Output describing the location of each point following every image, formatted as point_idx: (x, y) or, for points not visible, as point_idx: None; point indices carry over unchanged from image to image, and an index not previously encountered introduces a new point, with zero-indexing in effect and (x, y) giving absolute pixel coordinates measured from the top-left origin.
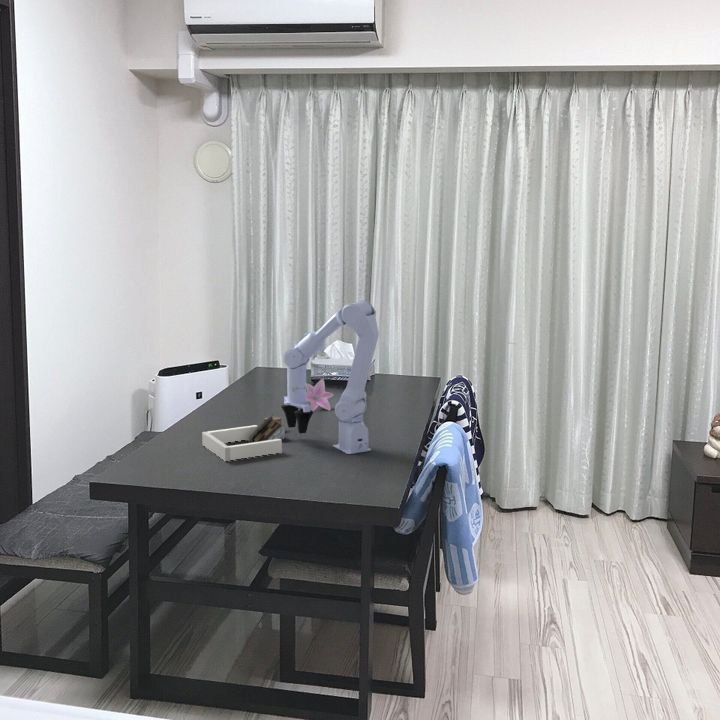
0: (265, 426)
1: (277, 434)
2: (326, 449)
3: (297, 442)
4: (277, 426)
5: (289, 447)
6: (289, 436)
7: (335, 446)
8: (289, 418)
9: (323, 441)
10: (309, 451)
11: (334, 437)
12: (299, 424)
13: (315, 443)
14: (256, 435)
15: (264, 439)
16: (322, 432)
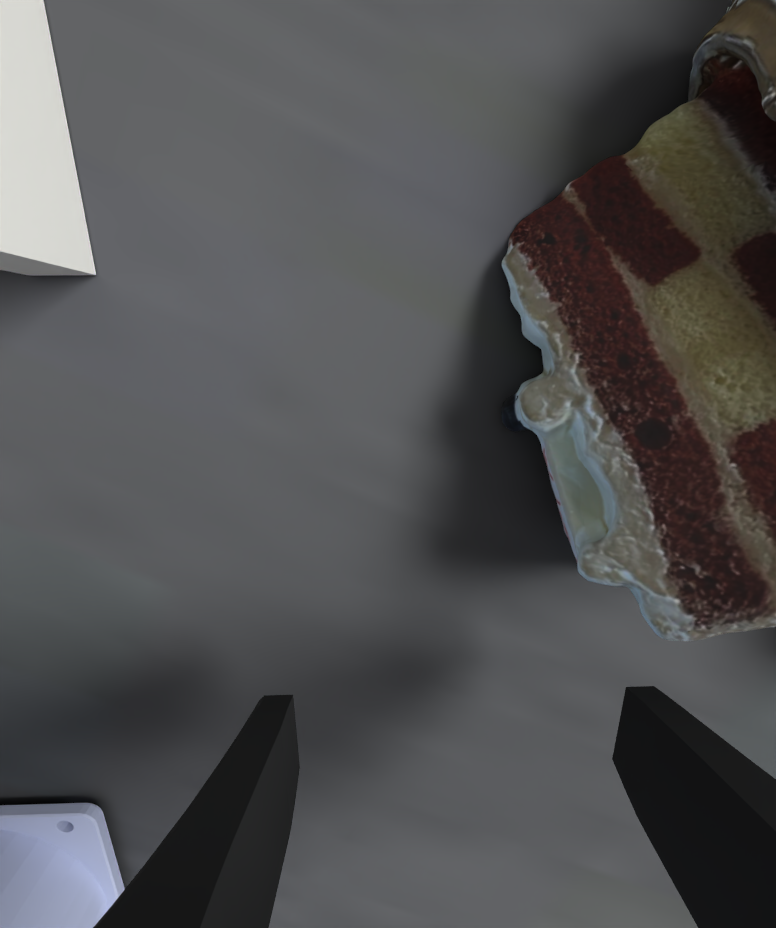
0: None
1: (590, 472)
2: (44, 729)
3: (382, 604)
4: (730, 545)
5: (241, 461)
6: (623, 619)
7: (38, 816)
8: (751, 856)
9: (302, 794)
10: (19, 581)
11: (372, 891)
12: (154, 857)
13: None
14: (764, 151)
15: (578, 248)
16: (556, 873)
